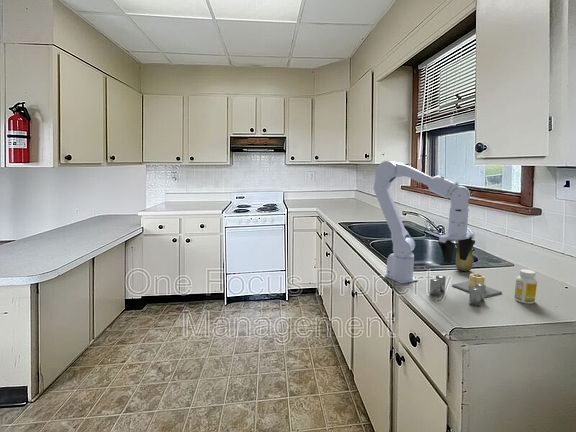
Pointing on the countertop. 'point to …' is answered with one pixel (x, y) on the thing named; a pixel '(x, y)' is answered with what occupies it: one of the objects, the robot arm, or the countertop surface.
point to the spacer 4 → (482, 287)
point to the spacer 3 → (475, 296)
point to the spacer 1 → (434, 287)
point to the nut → (476, 279)
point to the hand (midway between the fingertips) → (455, 261)
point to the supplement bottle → (526, 287)
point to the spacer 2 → (441, 282)
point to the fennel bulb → (464, 264)
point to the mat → (466, 288)
